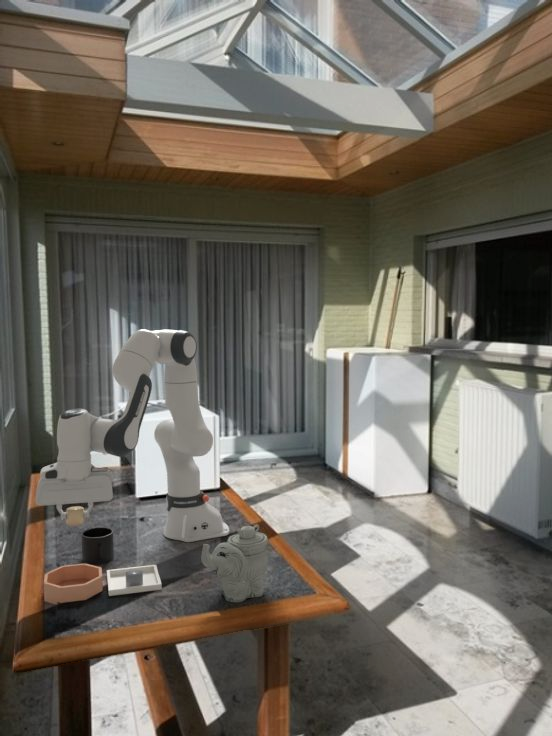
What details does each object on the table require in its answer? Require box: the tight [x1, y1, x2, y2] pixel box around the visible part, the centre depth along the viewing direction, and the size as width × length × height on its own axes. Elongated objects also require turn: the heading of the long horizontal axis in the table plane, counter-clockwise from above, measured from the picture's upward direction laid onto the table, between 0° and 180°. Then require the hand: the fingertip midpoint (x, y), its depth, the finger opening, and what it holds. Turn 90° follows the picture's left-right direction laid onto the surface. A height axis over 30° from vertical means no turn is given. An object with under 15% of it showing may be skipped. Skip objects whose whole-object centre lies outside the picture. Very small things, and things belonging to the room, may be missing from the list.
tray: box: [106, 564, 163, 597], centre depth 182 cm, size 14×14×2 cm
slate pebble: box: [126, 569, 143, 587], centre depth 179 cm, size 5×5×4 cm
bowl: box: [43, 563, 104, 606], centre depth 177 cm, size 15×15×5 cm
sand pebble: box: [65, 505, 85, 527], centre depth 178 cm, size 5×5×4 cm
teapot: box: [200, 524, 269, 603], centre depth 175 cm, size 16×15×19 cm
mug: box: [80, 526, 115, 565], centre depth 198 cm, size 9×12×9 cm
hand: (75, 518), depth 178 cm, fingers closed on sand pebble, 5 cm apart
